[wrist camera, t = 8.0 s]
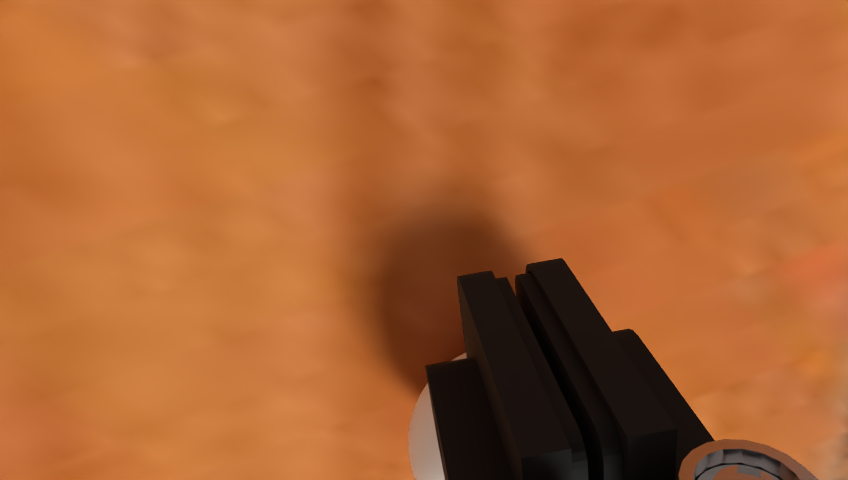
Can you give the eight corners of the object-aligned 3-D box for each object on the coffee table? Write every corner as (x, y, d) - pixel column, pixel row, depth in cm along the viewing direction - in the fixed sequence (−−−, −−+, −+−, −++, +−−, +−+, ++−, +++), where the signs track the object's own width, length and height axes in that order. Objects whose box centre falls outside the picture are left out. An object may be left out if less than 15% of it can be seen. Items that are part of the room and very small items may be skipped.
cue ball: (424, 600, 16) (422, 517, 22) (646, 565, 16) (588, 492, 22) (391, 375, 17) (397, 349, 22) (610, 342, 17) (562, 325, 22)
